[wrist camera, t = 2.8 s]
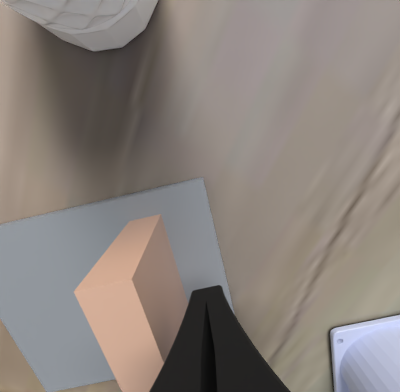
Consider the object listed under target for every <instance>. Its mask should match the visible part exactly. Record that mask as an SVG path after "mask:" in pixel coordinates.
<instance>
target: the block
mask: <svg viewBox="0 0 400 392" xmlns="http://www.w3.org/2000/svg"><path fill="white" fill-rule="evenodd" d="M74 294H75V296H76V298H77V300H78V302H79V304H80V306H81V308H82V310H83V312H84V314H85V316H86V318H87V320H88V322H89V324H90V327H91V329H92V331H93V333H94V335H95V337H96V339H97V341H98V343H99V345H100V347H101V349H102V351H103V353H104V355H105V357H106V360H107V362H108V364H109V366H110V368H111V370H112V372H113V374H114V376H115V378H116V380H117V382H118V384H119V386H120V388H121V390H122V392H149V391H150V389H151V387H152V386H153V384H154V382H155V380H156V378H157V376H158V374H159V372H160V370H161V368H162V366H163V364H164V362H165V360H166V358H167V356H168V354H169V351H170V349H171V347H172V345H173V343H174V340H175V338H176V336H177V333H178V331H179V328H180V326H181V323H182V320H183V318H184V315H185V312H186V309H187V306H188V301H187V298H186V295H185V292H184V288H183V285H182V282H181V278H180V275H179V272H178V269H177V265H176V262H175V259H174V255H173V252H172V249H171V246H170V242H169V239H168V236H167V233H166V229H165V226H164V223H163V219H162V216H161V214H159V215H154V216H150V217H146V218H141V219H137V220H133V221H129V222H128V224H127V225H126V226H125V227H124V229H123V230H122V231H121V232H120V234H119V235H118V236H117V238H116V239H115V240H114V241H113V243H112V244H111V245H110V246H109V248H108V249H107V250H106V251H105V253H104V254H103V255H102V256H101V258H100V259H99V260H98V262H97V263H96V264H95V265H94V267H93V268H92V269H91V270H90V272H89V273H88V274H87V275H86V277H85V278H84V279H83V280H82V282H81V283H80V284H79V286H78V287H77V288H76V289H75V291H74Z"/></svg>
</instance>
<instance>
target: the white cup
mask: <svg viewBox="0 0 400 392" xmlns="http://www.w3.org/2000/svg"><path fill="white" fill-rule="evenodd" d="M0 2H1V3H3V4H4V5H6V6H8V7H9V8H11V9H13V10H15V11H16V12H18V13H20V14H22V15H23V16H25V17H27V18H29V19H31V20H33V21H35V22H37V23H38V24H40V25H41V26H43V27H44V28H46V29H47V30H49V31H50V32H51V33H53V34H54V35H56V36H57V37H59V38H60V39H62V40H64V41H66V42H69V43H72V44H74V45H77V46H80V47H82V48H85V49H88V50H91V51H94V52H95V51H102V50H109V49H115V48H122V47H124V46H125V45H126V44H127V43H129V42H130V41H131V40H132V39H134V38H135V37H136V36H137V35H139V34H140V33H141V32H142V31H144V30H145V29H146V27H147V24H148V22H149V20H150V18H151V15H152V13H153V11H154V9H155V7H156V4H157V2H158V0H0Z"/></svg>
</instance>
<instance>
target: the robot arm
mask: <svg viewBox="0 0 400 392" xmlns="http://www.w3.org/2000/svg"><path fill="white" fill-rule="evenodd" d="M330 337H331V351H332V365H333V378H334V392H400V315H397V316H392V317H387V318H382V319H377V320H372V321H367V322H362V323H357V324H352V325H347V326H342V327H337V328H334V329H332V330H331V332H330ZM149 392H290V391H289V389H288V388H287V387H286V386H285V385H284V384H283V382H282V381H281V380H280V379H279V378H278V376H277V375H276V374H275V373H274V371H273V370H272V369H271V368H270V366H269V365H268V364H267V362H266V361H265V360H264V358H263V357H262V356H261V354H260V353H259V352H258V350H257V349H256V348H255V346H254V345H253V343H252V342H251V340H250V339H249V337H248V336H247V334H246V333H245V331H244V330H243V328H242V327H241V325H240V323H239V322H238V320H237V318H236V317H235V315H234V313H233V311H232V310H231V308H230V306H229V304H228V302H227V299H226V297H225V295H224V292H223V288H222V286H220V285H216V286H212V287H207V288H202V289H197V290H193V291H192V293H191V296H190V300H189V303H188V306H187V309H186V312H185V315H184V318H183V320H182V323H181V326H180V328H179V331H178V333H177V336H176V338H175V340H174V343H173V345H172V347H171V349H170V351H169V354H168V356H167V358H166V360H165V362H164V364H163V366H162V368H161V370H160V372H159V374H158V376H157V378H156V380H155V382H154V384H153V386H152V387H151V389H150V391H149Z"/></svg>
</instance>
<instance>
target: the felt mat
mask: <svg viewBox="0 0 400 392" xmlns="http://www.w3.org/2000/svg"><path fill="white" fill-rule="evenodd" d="M159 214H161V216H162V219H163V223H164V226H165V229H166V233H167V236H168V239H169V242H170V246H171V249H172V252H173V255H174V259H175V262H176V265H177V269H178V272H179V275H180V278H181V282H182V285H183V288H184V292H185V295H186V298H187V301H188V303H189V300H190V296H191V293H192V291H193V290H197V289H202V288H207V287H212V286H216V285H220V286H222V288H223V292H224V295H225V297H226V299H227V302H228V304H229V306H230V308H231V310H232V311H233V313H234V309H233V305H232V301H231V297H230V292H229V288H228V284H227V279H226V275H225V271H224V266H223V262H222V258H221V253H220V249H219V245H218V240H217V236H216V232H215V227H214V223H213V219H212V215H211V210H210V206H209V202H208V197H207V193H206V189H205V184H204V180H203V177H200V178H196V179H191V180H187V181H183V182H179V183H174V184H170V185H166V186H162V187H157V188H153V189H149V190H144V191H140V192H136V193H132V194H127V195H123V196H119V197H115V198H110V199H106V200H102V201H98V202H93V203H89V204H85V205H80V206H76V207H72V208H68V209H63V210H59V211H55V212H51V213H46V214H42V215H38V216H33V217H29V218H25V219H21V220H16V221H12V222H8V223H4V224H0V319H1V321H2V322H3V324H4V325H5V327H6V328H7V330H8V332H9V333H10V335H11V336H12V338H13V340H14V341H15V343H16V344H17V346H18V347H19V349H20V351H21V352H22V354H23V355H24V357H25V359H26V360H27V362H28V363H29V365H30V366H31V368H32V370H33V371H34V373H35V374H36V376H37V378H38V379H39V381H40V382H41V384H42V385H43V387H44V389H45V390H46V392H54V391H59V390H64V389H69V388H74V387H79V386H84V385H89V384H94V383H99V382H104V381H109V380H114V379H116V378H115V376H114V374H113V372H112V370H111V368H110V366H109V364H108V362H107V360H106V357H105V355H104V353H103V351H102V349H101V347H100V345H99V343H98V341H97V339H96V337H95V335H94V333H93V331H92V329H91V327H90V324H89V322H88V320H87V318H86V316H85V314H84V312H83V310H82V308H81V306H80V304H79V302H78V300H77V298H76V296H75V294H74V291H75V289H76V288H77V287H78V286H79V284H80V283H81V282H82V280H83V279H84V278H85V277H86V275H87V274H88V273H89V272H90V270H91V269H92V268H93V267H94V265H95V264H96V263H97V262H98V260H99V259H100V258H101V256H102V255H103V254H104V253H105V251H106V250H107V249H108V248H109V246H110V245H111V244H112V243H113V241H114V240H115V239H116V238H117V236H118V235H119V234H120V232H121V231H122V230H123V229H124V227H125V226H126V225H127V224H128V222H129V221H133V220H137V219H141V218H146V217H150V216H154V215H159ZM234 315H235V314H234Z"/></svg>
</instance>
